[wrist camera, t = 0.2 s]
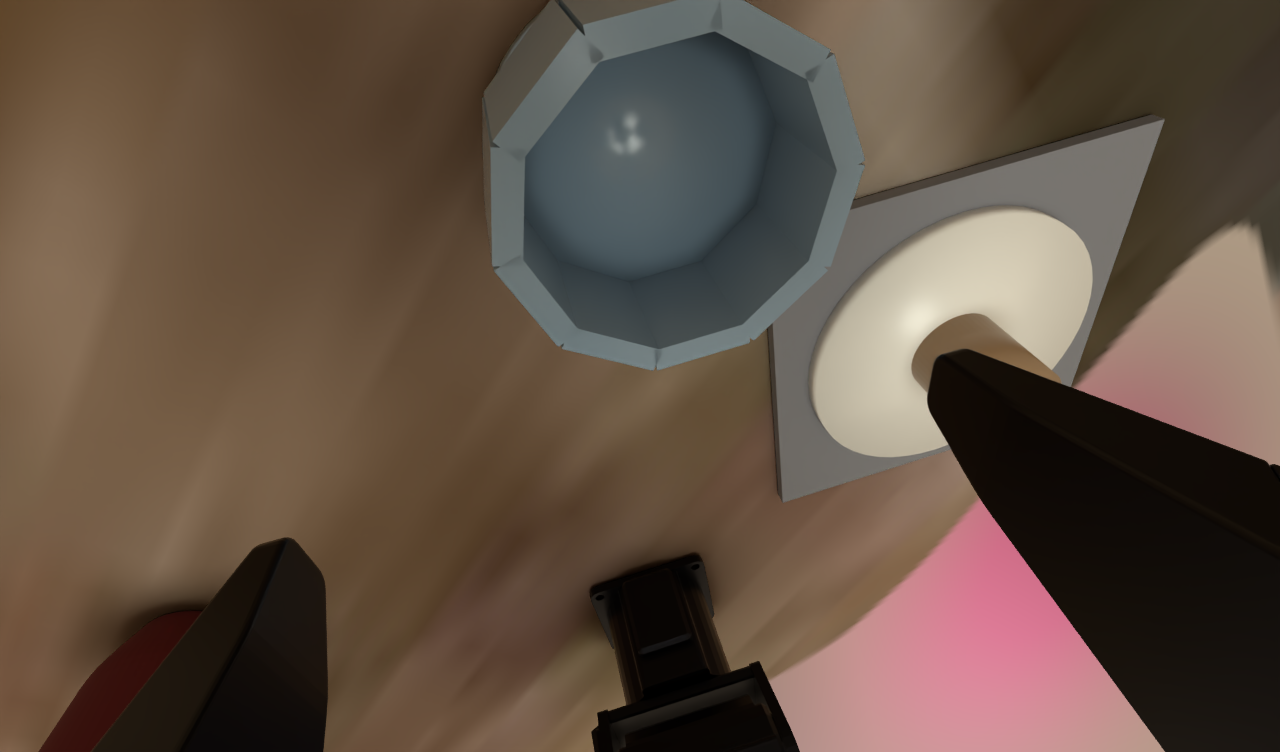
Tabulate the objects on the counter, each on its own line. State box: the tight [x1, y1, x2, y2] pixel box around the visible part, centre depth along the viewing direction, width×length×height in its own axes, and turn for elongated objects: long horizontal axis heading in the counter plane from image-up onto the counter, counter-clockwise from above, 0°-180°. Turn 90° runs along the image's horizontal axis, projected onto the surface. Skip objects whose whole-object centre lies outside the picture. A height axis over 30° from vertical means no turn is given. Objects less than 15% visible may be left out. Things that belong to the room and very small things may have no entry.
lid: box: [808, 205, 1093, 457], centre depth 27 cm, size 13×13×5 cm
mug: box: [39, 611, 203, 752], centre depth 26 cm, size 11×8×10 cm
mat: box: [768, 114, 1165, 503], centre depth 29 cm, size 16×16×1 cm
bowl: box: [482, 0, 865, 371], centre depth 19 cm, size 10×10×5 cm
